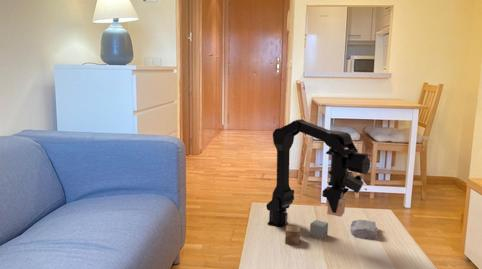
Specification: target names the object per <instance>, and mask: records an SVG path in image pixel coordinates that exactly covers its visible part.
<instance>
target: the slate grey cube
mask: <svg viewBox="0 0 482 269" xmlns="http://www.w3.org/2000/svg"><path fill="white" fill-rule="evenodd" d="M309 226H310V227H309V237H313V238H316V239H319V240H323V239H324V238H326V236H328V232H329V222H327V221H322V220H320V219H315V220H314V221H312V222H311V223H310V225H309Z"/></svg>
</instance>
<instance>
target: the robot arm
mask: <svg viewBox="0 0 482 269" xmlns="http://www.w3.org/2000/svg"><path fill="white" fill-rule="evenodd" d="M300 133H303V134H304V135H307V136H308V137H309V136H310V137H312V138H315V139H317V140H320V141H322V142H324V144H325V145H326V146H328V148H329V150H327V151H326V152H325V154H326V155H330V156H331V158H330V170H329V171H328V174H329V181H328V183H327V186H326V187H325V188H324V189H323V190H322V193H321V194H322V195H321V196H322V198H323V197H324V198H326V199H327V203H328V202H329V205H330V207H331V210H332V212H333V213H336V210H337V206H338V202H339V200H340V199H344V195H345V194H346V193H347V192H348V191H349V190H352V191H353V192H354V193H356V194H358V193H359V192H360V191H361V189H362V187H363V185H364V181H363V179H362V175H360V174H363V175H367V174H368V173H369V171H370V167H371V161H370V158H369V154H368V153H361V152H358V149H357V147H356V146H355V144H354V142H353V139H352V137H351V134H350V133H348V132H345V131H339V130H332V129H331V130H330V129H328V128H325V127H321V126H319V125H316V124H314V123H311V122H308V121H305V120H304V119H300V118H299V119H294V120H293V121H292V122H290V123H288V124H286V125H283V126H282V127H277V128H275V129H274V131H273V132H272V142H273V145H274V147H275V149H276V185H275V188H274V190H273V192H272V195H271V196H272V197H271V200H270V201H269V202H267V203H266V204H265V206H266V210H267V211H269V216H268V217H269V218H268V221H267V222H266V223H267V225H269V226H272V227H279V228H283V227H284V226H285V225H286V224H287V223H288V215H289V214H288V212H287V209H289V208H290V207H291V205H292V204H293V201H294V200H295V196H294V195H295V189H292V188H291V187H290V152H291V148H292V146H293V144H294V141H295V136H297V135H299V134H300ZM350 172H353V173H358V174H356V176H354V175H353V176H351V175H350Z"/></svg>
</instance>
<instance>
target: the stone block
mask: <svg viewBox="0 0 482 269" xmlns="http://www.w3.org/2000/svg"><path fill="white" fill-rule="evenodd" d="M349 229H350V233H351V235H352V236H353V237H354V238H357V239H369V240H377V239H378V227H377V225H376V221H370V220H366V219H357V220H356V219H355V220H352V221H351V224H350V227H349Z"/></svg>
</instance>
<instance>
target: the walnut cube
mask: <svg viewBox="0 0 482 269" xmlns="http://www.w3.org/2000/svg"><path fill="white" fill-rule="evenodd" d="M300 241H301V226H298V225H297V226H295V225H286V228H285V240H284V244H286V245H287V244H288V245H296V246H299V245H300Z"/></svg>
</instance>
